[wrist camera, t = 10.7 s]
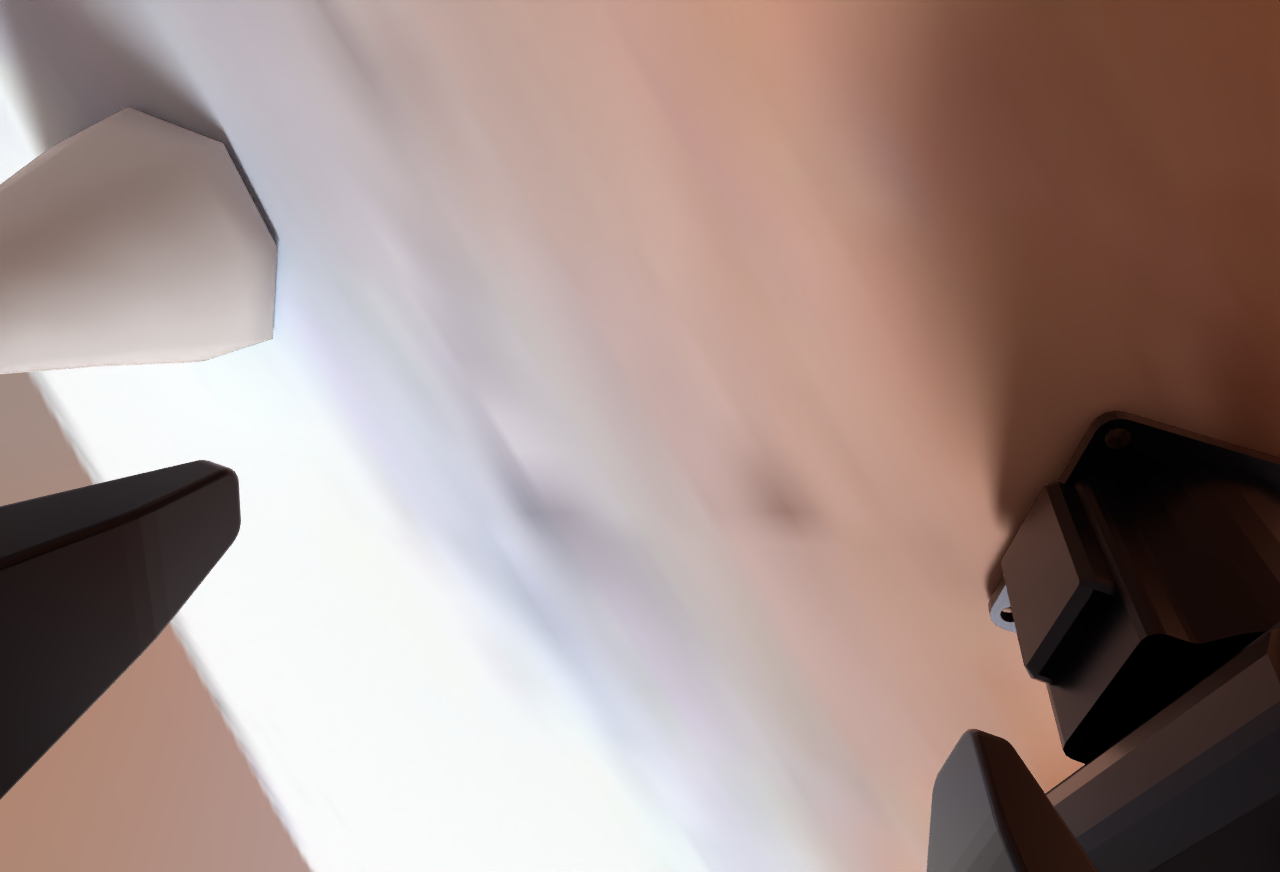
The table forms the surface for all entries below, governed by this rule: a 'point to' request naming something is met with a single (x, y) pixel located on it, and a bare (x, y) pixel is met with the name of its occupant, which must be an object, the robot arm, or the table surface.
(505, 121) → the table surface
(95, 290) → the flask
